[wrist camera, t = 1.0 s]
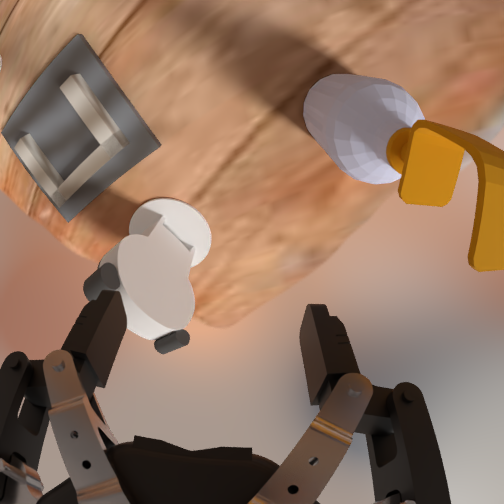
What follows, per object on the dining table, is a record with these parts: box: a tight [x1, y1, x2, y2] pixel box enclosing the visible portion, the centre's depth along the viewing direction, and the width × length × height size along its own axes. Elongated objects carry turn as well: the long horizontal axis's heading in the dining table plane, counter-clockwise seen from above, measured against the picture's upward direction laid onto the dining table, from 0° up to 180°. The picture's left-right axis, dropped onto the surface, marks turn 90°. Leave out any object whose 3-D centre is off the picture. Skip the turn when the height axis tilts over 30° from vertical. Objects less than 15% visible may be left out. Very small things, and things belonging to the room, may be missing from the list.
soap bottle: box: [303, 74, 504, 272], centre depth 17 cm, size 9×9×25 cm
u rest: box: [1, 34, 161, 222], centre depth 25 cm, size 18×18×3 cm
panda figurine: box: [83, 198, 211, 354], centre depth 30 cm, size 12×11×15 cm
